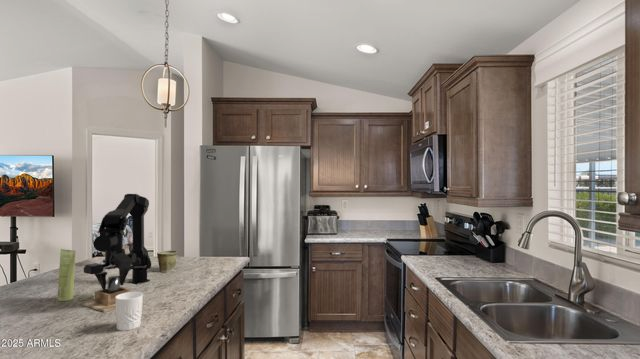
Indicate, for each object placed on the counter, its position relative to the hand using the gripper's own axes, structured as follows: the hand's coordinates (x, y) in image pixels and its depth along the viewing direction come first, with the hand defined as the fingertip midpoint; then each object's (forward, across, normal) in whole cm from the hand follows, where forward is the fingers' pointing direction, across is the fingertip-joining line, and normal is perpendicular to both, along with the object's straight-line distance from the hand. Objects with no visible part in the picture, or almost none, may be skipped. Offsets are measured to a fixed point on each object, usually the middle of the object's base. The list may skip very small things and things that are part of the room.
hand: (112, 287), depth 131 cm
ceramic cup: (+6, +44, +25) cm, 51 cm away
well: (+6, 0, 0) cm, 6 cm away
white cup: (+6, -10, -26) cm, 29 cm away
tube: (+6, -7, +19) cm, 21 cm away
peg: (+5, 0, 0) cm, 5 cm away
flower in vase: (+6, +33, +57) cm, 66 cm away
